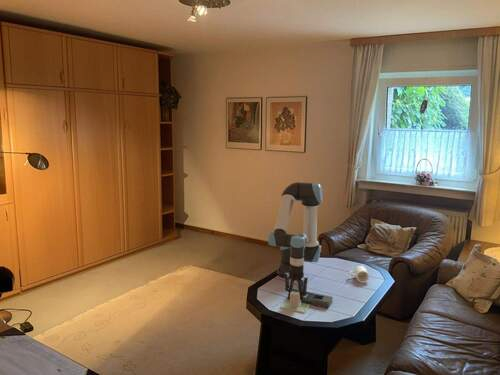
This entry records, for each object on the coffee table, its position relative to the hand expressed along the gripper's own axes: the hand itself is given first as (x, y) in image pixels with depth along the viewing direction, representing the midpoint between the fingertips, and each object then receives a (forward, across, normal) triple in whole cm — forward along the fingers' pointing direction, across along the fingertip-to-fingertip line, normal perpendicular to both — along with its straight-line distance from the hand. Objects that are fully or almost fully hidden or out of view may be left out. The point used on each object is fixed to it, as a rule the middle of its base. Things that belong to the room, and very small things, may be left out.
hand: (295, 304), depth 226 cm
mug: (+2, +23, +58) cm, 62 cm away
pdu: (+2, +5, +11) cm, 12 cm away
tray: (+2, 0, 0) cm, 2 cm away
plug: (+2, 0, 0) cm, 2 cm away
